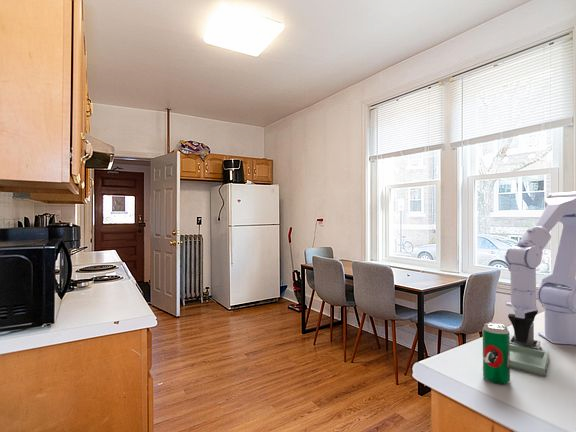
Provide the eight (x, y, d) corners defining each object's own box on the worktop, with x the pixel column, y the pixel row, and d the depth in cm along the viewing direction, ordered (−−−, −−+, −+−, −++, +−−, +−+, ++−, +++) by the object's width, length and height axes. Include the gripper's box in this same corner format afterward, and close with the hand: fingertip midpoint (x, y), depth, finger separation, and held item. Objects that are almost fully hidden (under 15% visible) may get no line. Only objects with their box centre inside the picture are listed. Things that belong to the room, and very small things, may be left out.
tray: (493, 346, 90) (493, 340, 90) (548, 359, 82) (548, 352, 82) (483, 361, 81) (483, 353, 81) (544, 376, 73) (544, 368, 73)
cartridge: (528, 344, 92) (528, 319, 92) (537, 350, 87) (537, 324, 87) (511, 343, 92) (511, 318, 92) (518, 349, 88) (518, 323, 88)
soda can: (514, 386, 69) (513, 330, 69) (488, 384, 70) (487, 328, 70) (503, 375, 74) (503, 322, 74) (479, 373, 75) (478, 321, 75)
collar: (511, 340, 95) (511, 335, 95) (540, 346, 90) (540, 341, 90) (507, 347, 90) (507, 341, 90) (537, 354, 85) (537, 348, 85)
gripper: (510, 283, 98) (510, 328, 98) (501, 291, 87) (501, 341, 87) (539, 286, 93) (540, 333, 93) (533, 295, 83) (534, 348, 82)
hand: (523, 338), depth 90 cm, fingers open, 7 cm apart
